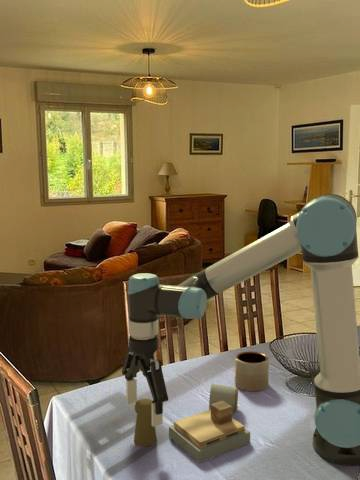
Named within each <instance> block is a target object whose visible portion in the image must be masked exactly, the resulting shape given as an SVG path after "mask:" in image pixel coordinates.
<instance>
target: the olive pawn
mask: <svg viewBox="0 0 360 480" xmlns="http://www.w3.org/2000/svg"><path fill="white" fill-rule="evenodd" d="M152 401H153V399H150V398H141V399H137V402H135V403H134V410H135V413H136V419H135V428H134V436H133V443H134V444H135V446H138V447H141V446H145V447H144V448H146V446H148V447H152V446H154V445H155V444H156V443H157V441H158V438H157V431H156V426H154V427H153V426H152V403H151V402H152ZM153 444H154V445H153Z"/></svg>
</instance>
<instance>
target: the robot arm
mask: <svg viewBox="0 0 360 480" xmlns="http://www.w3.org/2000/svg"><path fill="white" fill-rule="evenodd" d="M289 220H290V221H289V222H287V223H285V224H284V225H282V226H280V227H279V228H277V229H275V230H273V231H271V232H270V233H267V234H266V235H264V236H261V237H260V238H259V239H257V240H254V241H253V242H251V243H250V244H248V245H246V246H244V247H243V248H240V249H238V250H236V251H234V252H232V253H231V254H229V255H228V256H226V257H224V258H222V259H220V260H219V261H217V262H215V263H213V264H212V265H210V266H208V267H207V268H205V269H203V270H201V271H199V272H197V273H194V274H192V275H190V276H189V278H187V279H185V280H184V281H183V282H181V283H179V284H178V285H172V284H171V285H170V284H162V283H160V279H159V277H158V275H156V274H154V273H149V272H148V273H146V272H145V273H136V274H133V275H131V276H129V278H128V279H129V280H128V290H127V297H128V318H127V319H128V327H127V328H128V335H129V336H128V345H127V346H126V355H125V359H124V363H123V366H122V370H121V374H122V376H124V379H125V380H126V383H125V385H126V387H125V388H126V390H125V391H126V404H127V405H131V404H136V402H137V401H138V393H137V392H138V391H137V389H138V388H137V387H138V385H137V384H138V383H137V382H138V380H137V377H138V376H137V374H138V373H139V371H141V373H142V375H143V377H145V378H146V379H145V380H146V382H147V383H148V388H149V390H150V393H151V397H152V402H151V403H152V426H153V427H154V426H155V427H156V426H161V425H163V419H164V418H163V412H164V409H163V407H164V402H167V401H168V402H169V396H168V390H167V388H166V387H167V386H166V382H165V381H166V380H165V378H164V374H163V368H162V366H163V365H162V360H161V359H158V360H155V353H156V352H157V351H158V349H159V335H158V333H159V322H160V321H159V315H160V316H166V317H174V318H180V319H181V318H182V319H185V320H186V319H187V320H190V319H194V320H195V319H197V320H198V319H201V318H202V317H203V316H204V315H205V312H206V309H207V303H208V300H210V299H212V298H214V297H216V296H218V295H220V294H222V293H224V292H226V291H228V290H229V289H231V288H233V287H235V286H238V284H241V283H242V282H245V281H246V280H249V279H251V278H252V277H254V276H256V275H258V274H260V273H262V272H264V271H266V270H268V269H270V268H272V267H274V266H276V265H277V264H279V263H281V262H283V261H285V260H287V259H289V258H291V257H293V256H295V255H296V254H298V253H299V254H300V252H301V259H302V262H303V263H304V264H305V265H306V266H308V268H309V269H310V277H311V288H312V290H311V291H312V297H313V298H312V299H313V308H314V309H313V310H314V319H315V329H316V341H317V342H316V343H317V352H318V363H319V373H318V374H317V375H316V376H315V377H314V379H313V385H314V395H315V404H316V408H315V409H316V410H315V412H314V416H313V417H314V424H315V429H314V432H313V435H312V446H313V447H312V448H313V450H314V451H315V452H316V453H317V454H318V455H319V456H320V457H322V458H323V459H326V460H327V461H329V462H332V463H335V464H338V465H343V466H344V465H345V466H360V349H359V348H360V347H359V346H360V345H359V336H358V335H359V334H358V322H357V313H356V312H357V311H356V301H355V287H354V278H353V277H354V276H353V265H354V264H355V262H356V261H358V259H359V246H358V245H359V244H358V234H357V223H358V222H357V220H358V217H357V211H356V209H355V207H354V206H353V204H352V203H351V202H350V201H349V200H348V199H347V198H346V197H343V196H342V195H339V194H336V193H335V194H334V193H328V194H327V193H326V194H323V195H320V196H318V197H316V198H314V199H312V200H311V201H309V202H307V203H306V204H305V205H304V206H303V207H302V208H301V211H298V212H297V213H296V214H293V215H292V216H291V217H290V219H289Z"/></svg>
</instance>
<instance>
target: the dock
mask: <svg viewBox="0 0 360 480" xmlns="http://www.w3.org/2000/svg"><path fill="white" fill-rule="evenodd" d="M168 438H169V439H171V440H172V441H173V443H175V444H176V445H178V446H179V447H180V448H181V449H182V450H184V451H185V452H186V453H187V454H188V455H189V456H190V457H192V459H194V460H196V462H197V463H199V464H200V463H202V462H205V461H208V460H211V459H213V458H215V457H219V456H220V455H223V454H225V453H227V452H231V451H232V450H236V449H238V448H241V447H243V446H246V445H248V444H251V431H249V430H247V429H246V428H245V432H242V433H239V434H238V433H237V432H234V433H232V434H229V435H226V439H223V440H221V441H220V440H218V439H215V440H213V441H210V442H207V446H205V447H202V448H199V447H198V446H197V445H196V444H195V443H193V442H192V441H191V440H190V439H188V438H187V437H186V436H185V435H183V434H182V433H181V432H180V431H178V430H177V429H176V428H175V427H174V424H172V425H170V426H168Z"/></svg>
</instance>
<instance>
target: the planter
mask: <svg viewBox="0 0 360 480" xmlns="http://www.w3.org/2000/svg"><path fill="white" fill-rule="evenodd" d="M234 357H235V360H234V361H235V362H234V364H235V365H234V385H235V386H236V388H237V389H240V390H242V391H244V392H251V393H253V392H260V391H264V390H265V389H266V390H267V388H268V387H269V378H270V377H269V372H270V371H269V369H270V367H269V365H270V364H269V363H270V361H269V356H268V355H267V354H264V353H263V352H260V351H249V350H248V351H242V352H241V351H240V352H239V353H236V355H235V356H234Z"/></svg>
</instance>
